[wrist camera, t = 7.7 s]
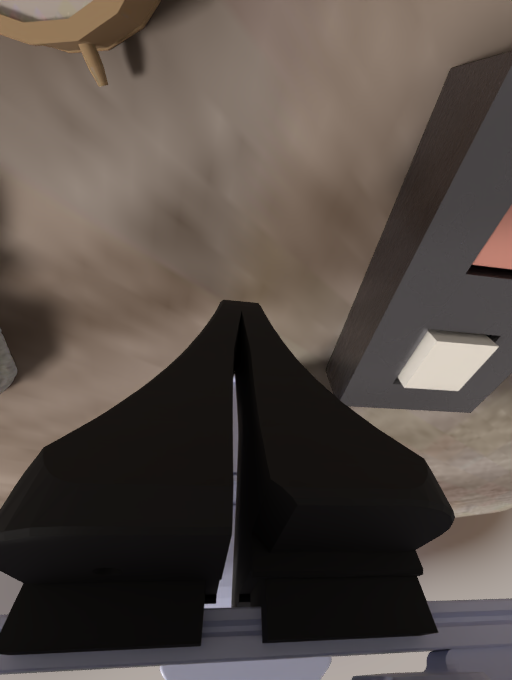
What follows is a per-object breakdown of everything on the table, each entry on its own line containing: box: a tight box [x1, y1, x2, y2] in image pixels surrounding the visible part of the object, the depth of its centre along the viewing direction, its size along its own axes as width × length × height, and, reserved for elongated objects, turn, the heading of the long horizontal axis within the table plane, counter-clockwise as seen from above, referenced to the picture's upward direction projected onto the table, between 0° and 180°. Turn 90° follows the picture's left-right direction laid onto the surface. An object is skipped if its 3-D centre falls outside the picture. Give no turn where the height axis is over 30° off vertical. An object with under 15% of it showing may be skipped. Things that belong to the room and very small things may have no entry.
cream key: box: [397, 329, 499, 391], centre depth 20 cm, size 4×4×3 cm
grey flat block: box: [326, 51, 512, 413], centre depth 18 cm, size 20×12×4 cm, turn 172°
